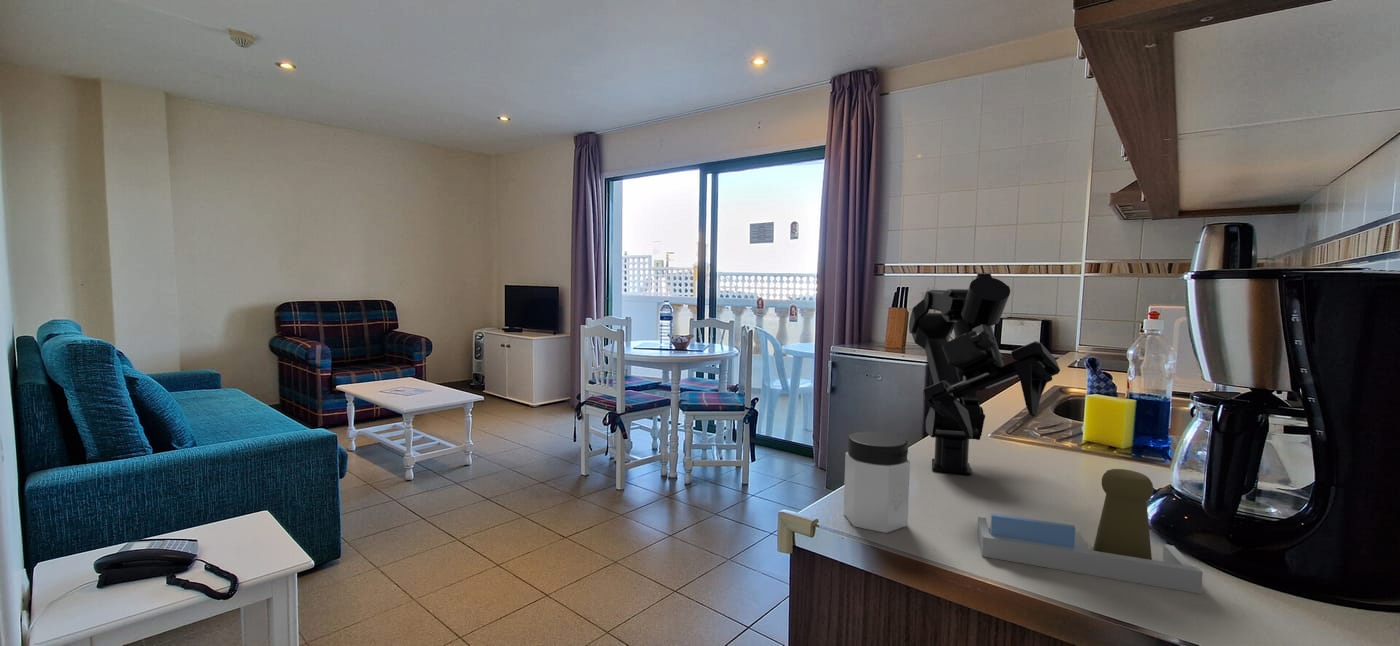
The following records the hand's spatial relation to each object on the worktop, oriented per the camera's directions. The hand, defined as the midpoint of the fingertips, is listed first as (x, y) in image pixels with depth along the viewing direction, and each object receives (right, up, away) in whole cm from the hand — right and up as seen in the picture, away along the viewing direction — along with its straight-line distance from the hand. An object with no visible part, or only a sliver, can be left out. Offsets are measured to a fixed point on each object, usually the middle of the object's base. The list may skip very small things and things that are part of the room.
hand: (1000, 426), depth 82 cm
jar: (-18, -14, +1) cm, 23 cm away
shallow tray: (+4, -15, -10) cm, 18 cm away
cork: (+10, -15, -10) cm, 21 cm away
